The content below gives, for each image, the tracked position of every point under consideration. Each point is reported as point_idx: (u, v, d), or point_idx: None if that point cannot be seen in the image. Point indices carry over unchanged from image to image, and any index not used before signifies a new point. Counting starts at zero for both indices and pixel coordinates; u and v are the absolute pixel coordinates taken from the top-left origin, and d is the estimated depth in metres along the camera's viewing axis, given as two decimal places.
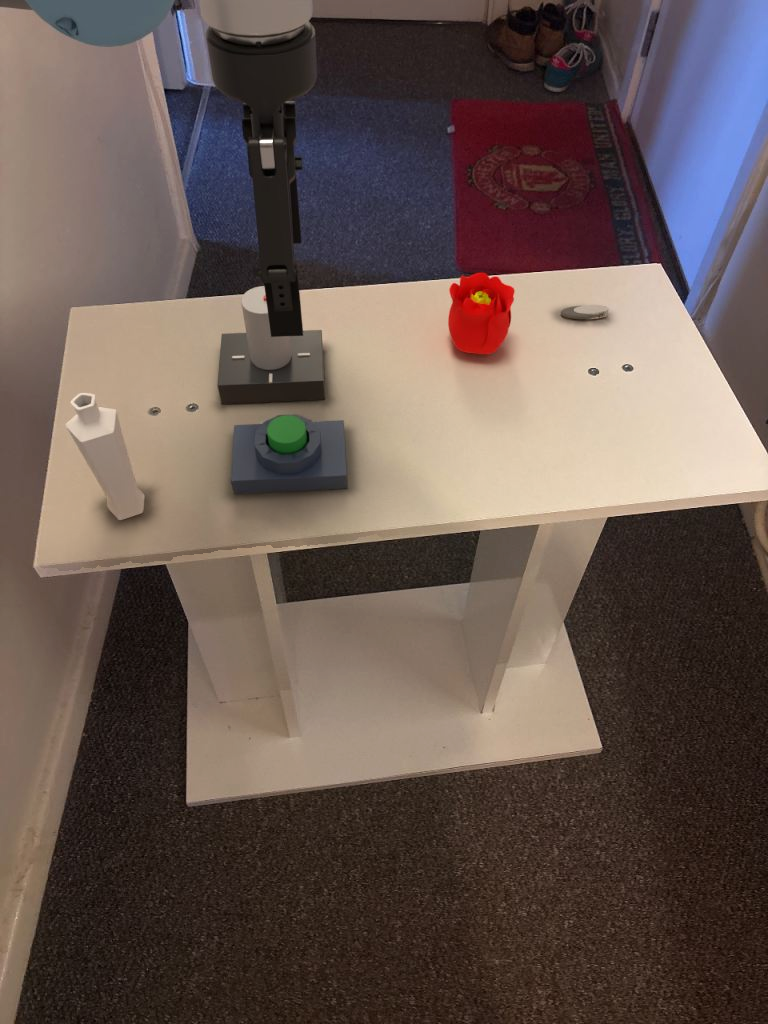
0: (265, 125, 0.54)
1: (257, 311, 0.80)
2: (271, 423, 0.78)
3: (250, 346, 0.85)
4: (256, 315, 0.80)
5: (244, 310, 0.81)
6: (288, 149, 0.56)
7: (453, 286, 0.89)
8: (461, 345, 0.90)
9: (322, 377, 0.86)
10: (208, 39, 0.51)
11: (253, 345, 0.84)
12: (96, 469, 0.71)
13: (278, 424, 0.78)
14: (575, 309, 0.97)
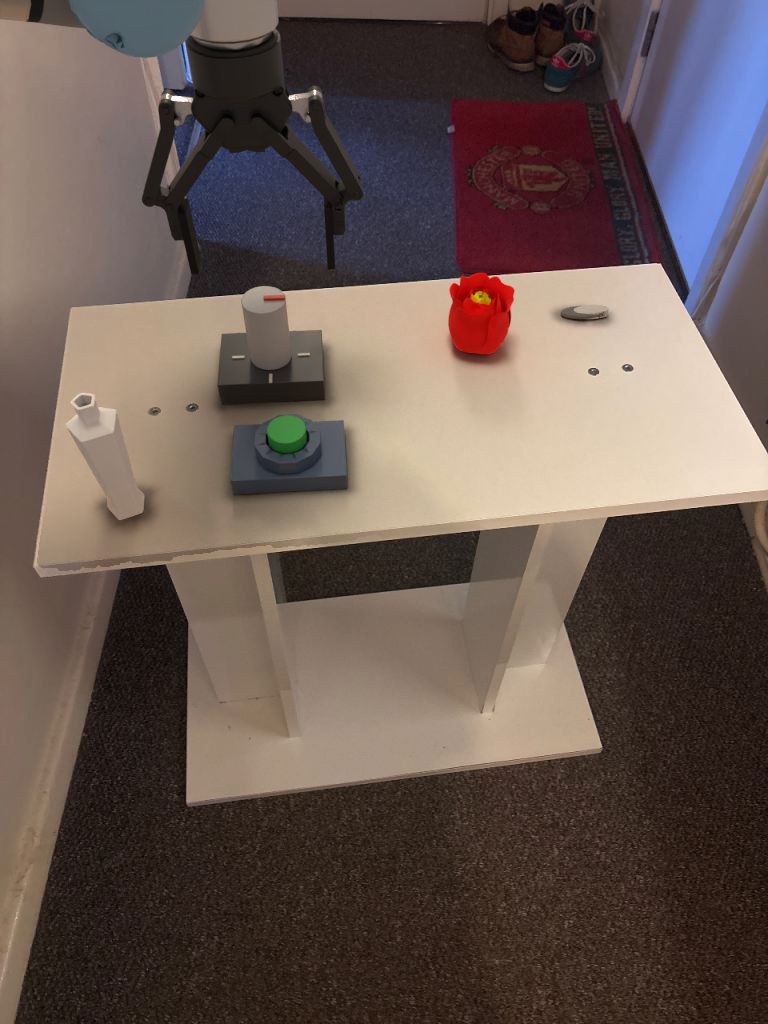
0: None
1: (257, 311, 0.80)
2: (271, 423, 0.78)
3: (250, 346, 0.85)
4: (256, 315, 0.80)
5: (244, 310, 0.81)
6: None
7: (453, 286, 0.89)
8: (461, 345, 0.90)
9: (322, 377, 0.86)
10: (243, 57, 0.58)
11: (253, 345, 0.84)
12: (96, 469, 0.71)
13: (278, 424, 0.78)
14: (575, 309, 0.97)
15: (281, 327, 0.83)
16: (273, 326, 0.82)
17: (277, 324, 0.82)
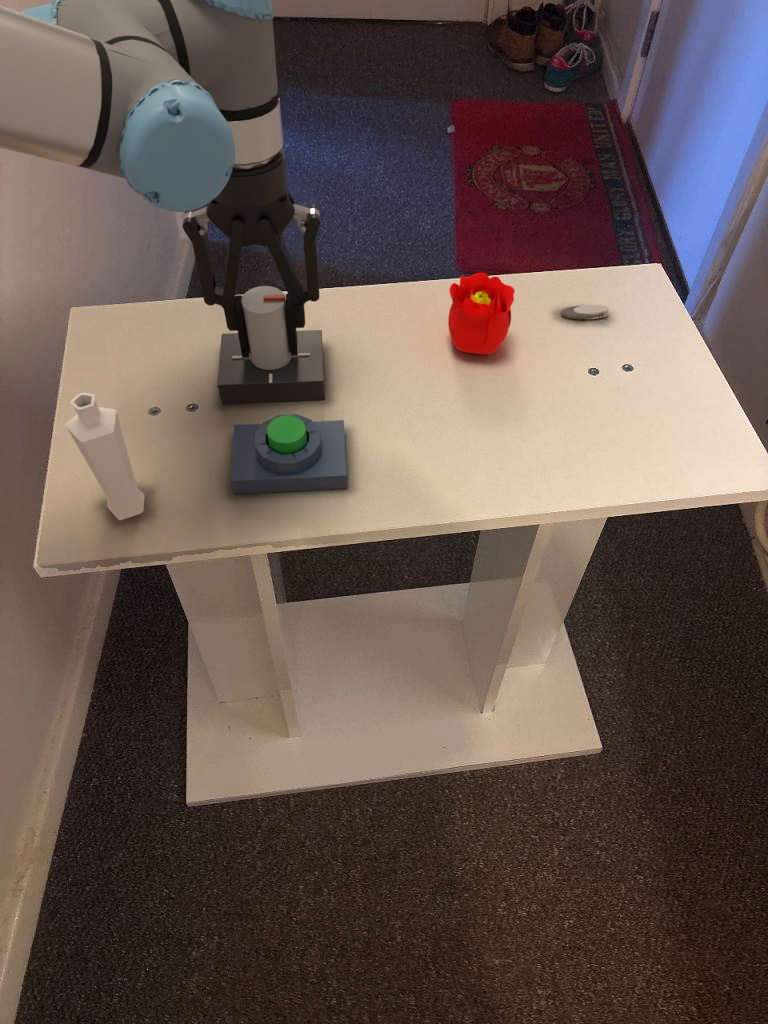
0: None
1: (257, 311, 0.80)
2: (271, 423, 0.78)
3: (250, 346, 0.85)
4: (256, 315, 0.80)
5: (244, 310, 0.81)
6: None
7: (453, 286, 0.89)
8: (461, 345, 0.90)
9: (322, 377, 0.86)
10: (253, 175, 0.67)
11: (253, 345, 0.84)
12: (96, 469, 0.71)
13: (278, 424, 0.78)
14: (575, 309, 0.97)
15: (281, 327, 0.83)
16: (273, 326, 0.82)
17: (277, 324, 0.82)
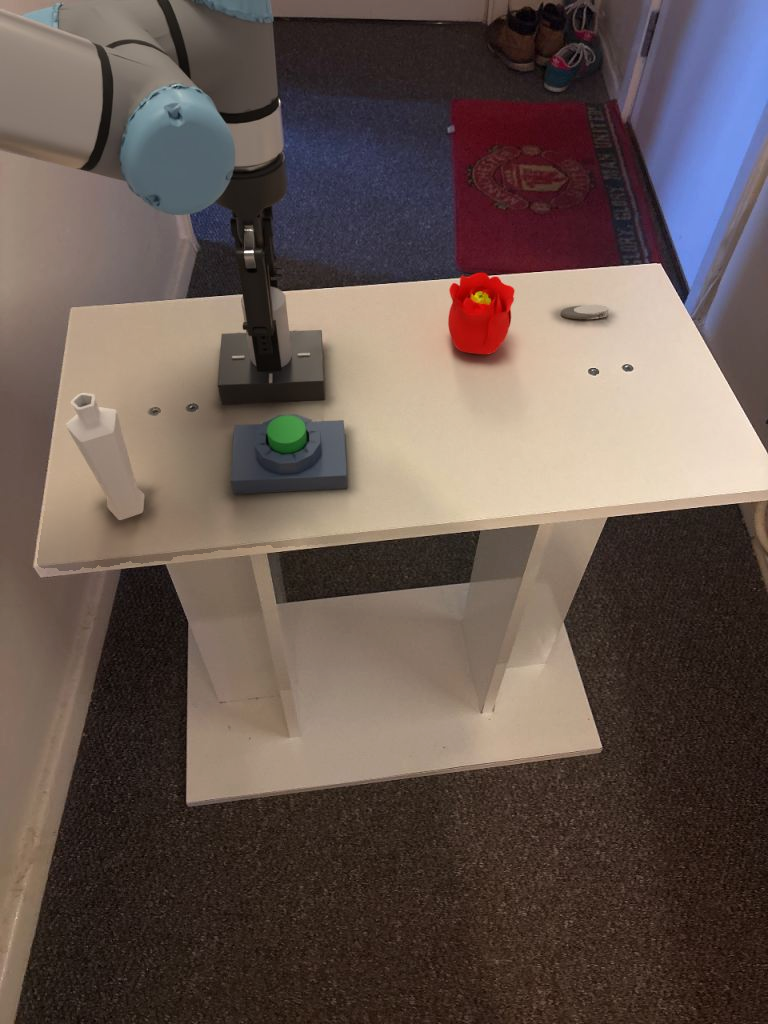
0: None
1: (281, 302, 0.81)
2: (271, 423, 0.78)
3: (279, 349, 0.85)
4: (284, 305, 0.81)
5: (275, 314, 0.81)
6: None
7: (453, 286, 0.89)
8: (461, 345, 0.90)
9: (322, 377, 0.86)
10: (282, 152, 0.70)
11: (283, 343, 0.84)
12: (96, 469, 0.71)
13: (278, 424, 0.78)
14: (575, 309, 0.97)
15: None
16: None
17: None
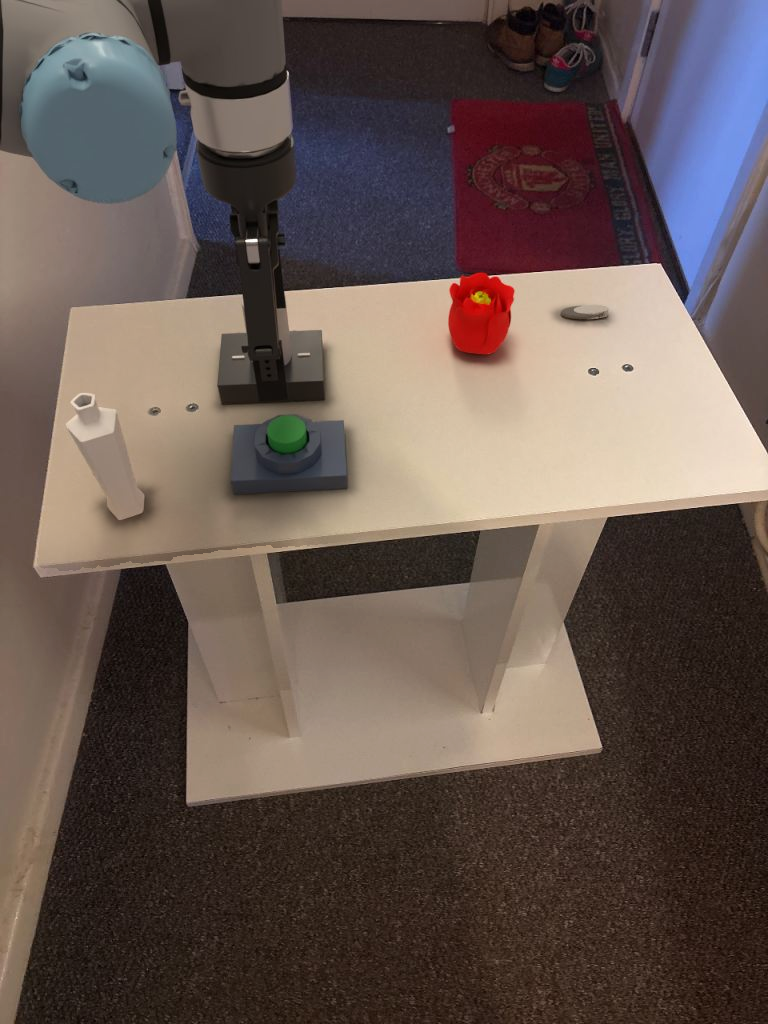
0: None
1: None
2: (271, 423, 0.78)
3: None
4: None
5: None
6: None
7: (453, 286, 0.89)
8: (461, 345, 0.90)
9: (322, 377, 0.86)
10: (290, 135, 0.59)
11: (283, 343, 0.84)
12: (96, 469, 0.71)
13: (278, 424, 0.78)
14: (575, 309, 0.97)
15: None
16: None
17: None
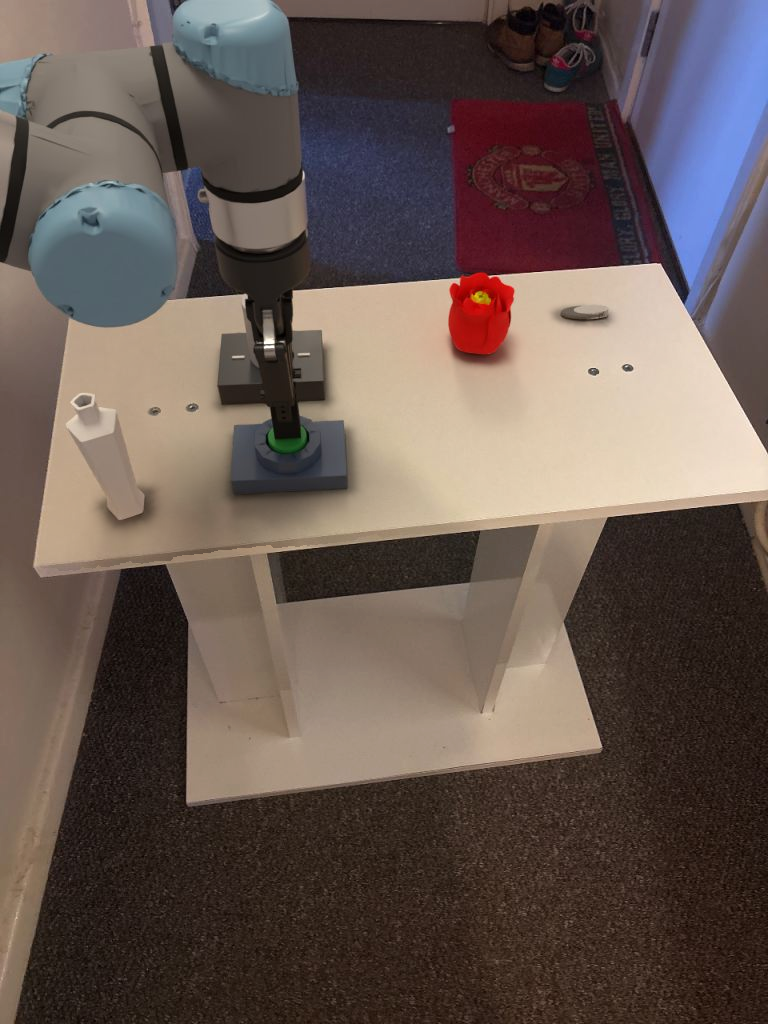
0: None
1: None
2: (272, 429, 0.79)
3: None
4: None
5: None
6: None
7: (453, 286, 0.89)
8: (461, 345, 0.90)
9: (322, 377, 0.86)
10: None
11: None
12: (96, 469, 0.71)
13: None
14: (575, 309, 0.97)
15: None
16: None
17: None
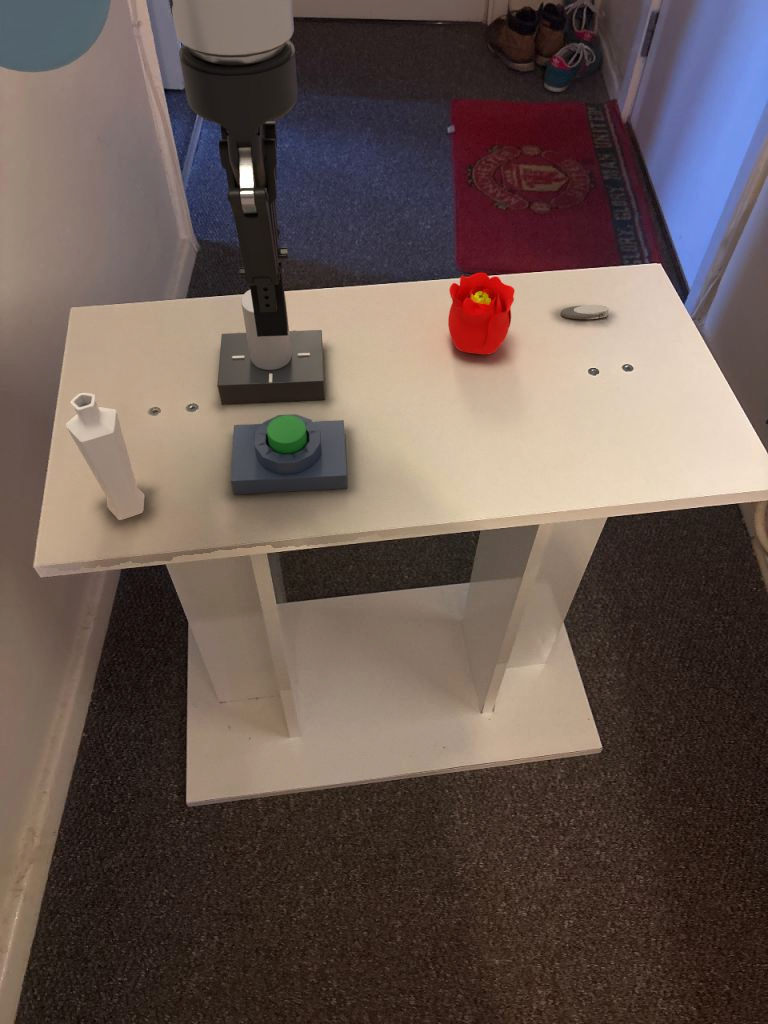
0: None
1: None
2: (271, 423, 0.78)
3: (279, 349, 0.85)
4: None
5: None
6: None
7: (453, 286, 0.89)
8: (461, 345, 0.90)
9: (322, 377, 0.86)
10: (290, 43, 0.50)
11: (283, 343, 0.84)
12: (96, 469, 0.71)
13: (278, 424, 0.78)
14: (575, 309, 0.97)
15: None
16: None
17: None
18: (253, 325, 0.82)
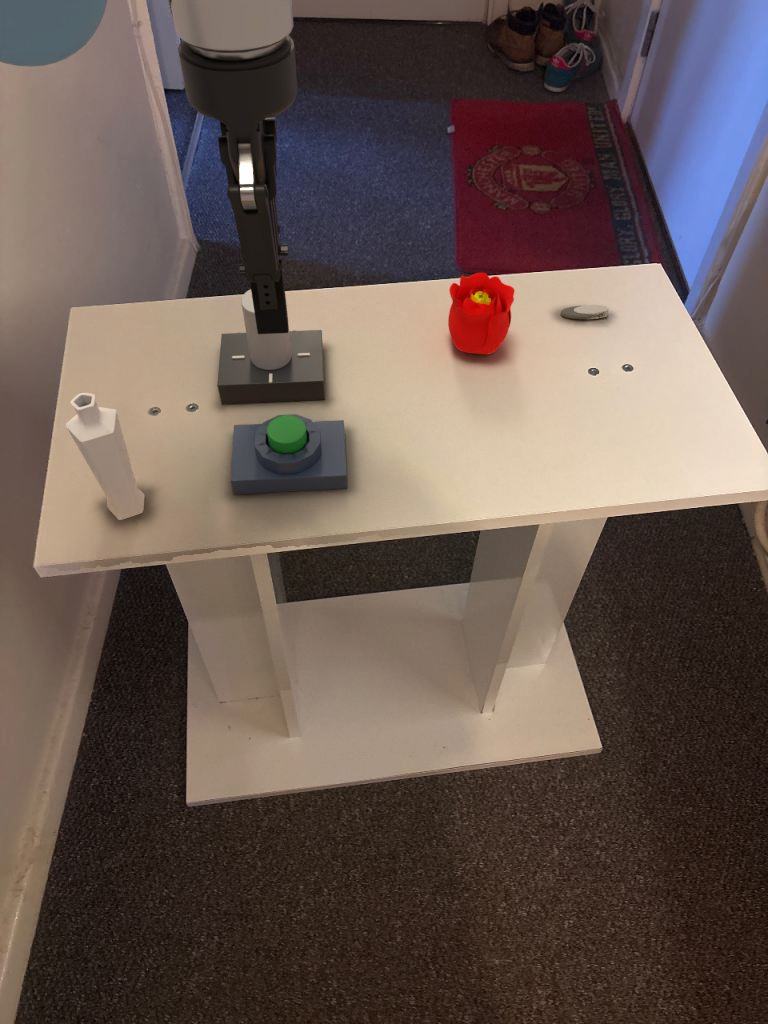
0: None
1: None
2: (271, 423, 0.78)
3: (279, 349, 0.85)
4: None
5: None
6: None
7: (453, 286, 0.89)
8: (461, 345, 0.90)
9: (322, 377, 0.86)
10: (290, 39, 0.50)
11: (283, 343, 0.84)
12: (96, 469, 0.71)
13: (278, 424, 0.78)
14: (575, 309, 0.97)
15: None
16: None
17: None
18: (253, 325, 0.82)
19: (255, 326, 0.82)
